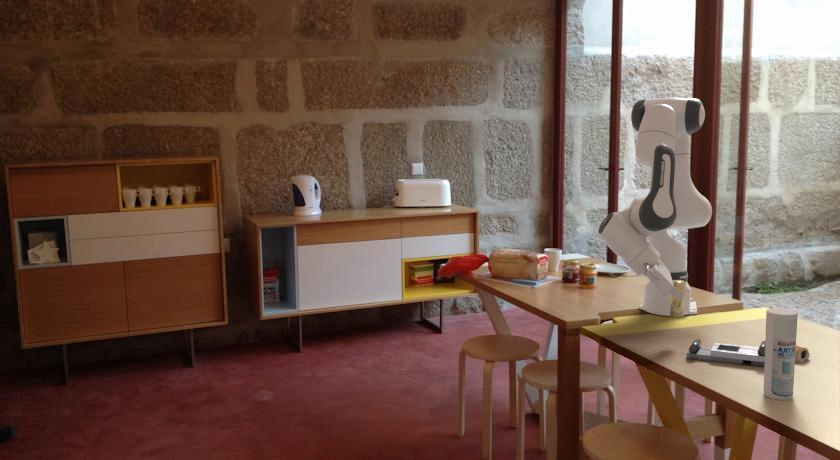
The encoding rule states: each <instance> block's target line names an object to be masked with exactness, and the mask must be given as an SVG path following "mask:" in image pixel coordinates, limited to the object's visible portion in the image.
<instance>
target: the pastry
mask: <svg viewBox="0 0 840 460" xmlns="http://www.w3.org/2000/svg"><path fill="white" fill-rule="evenodd" d="M809 358H810V351H809V349H808V348H807V347H802V346H799V345H796V352H795V363H802V362H804V361H806V360H809Z"/></svg>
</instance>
